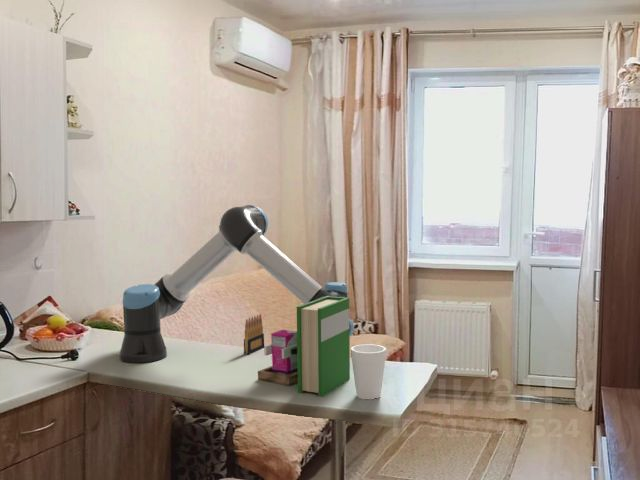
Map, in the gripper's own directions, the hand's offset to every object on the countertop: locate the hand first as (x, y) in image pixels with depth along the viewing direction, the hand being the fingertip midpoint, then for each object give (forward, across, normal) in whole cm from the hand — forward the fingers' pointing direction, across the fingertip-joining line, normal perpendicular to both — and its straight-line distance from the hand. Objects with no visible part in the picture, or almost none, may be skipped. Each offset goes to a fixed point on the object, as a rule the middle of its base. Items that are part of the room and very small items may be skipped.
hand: (274, 352), depth 192 cm
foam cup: (-4, -29, -9) cm, 31 cm away
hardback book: (-5, -14, -9) cm, 17 cm away
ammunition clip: (-24, +28, -9) cm, 38 cm away
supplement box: (-5, 0, -7) cm, 8 cm away
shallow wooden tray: (-5, 0, -9) cm, 10 cm away
